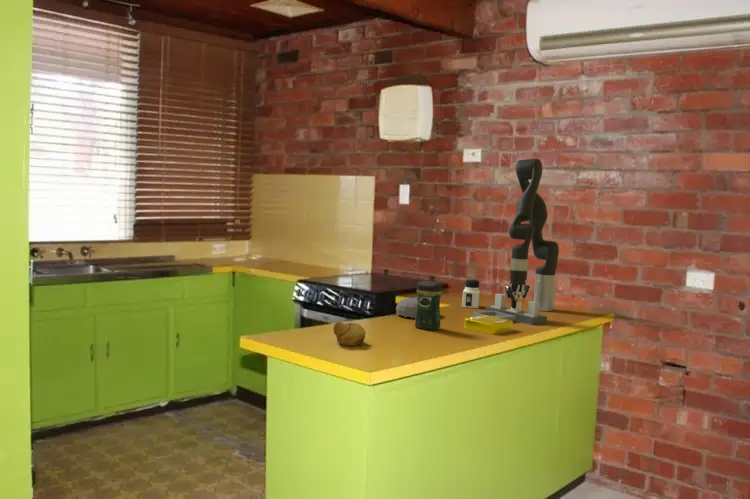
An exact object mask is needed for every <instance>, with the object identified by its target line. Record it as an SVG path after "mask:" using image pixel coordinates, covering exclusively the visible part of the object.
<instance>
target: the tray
mask: <svg viewBox="0 0 750 499" xmlns="http://www.w3.org/2000/svg"><path fill="white" fill-rule="evenodd" d="M481 315H487V316H492V317H497V318H503V319H508V320H512V321H513V323H516V322H517V321H516V316H514V315H510V314H506V313H501V312H497V311H486V310H485V311H475V312H472V316H471V317H475V316H481Z"/></svg>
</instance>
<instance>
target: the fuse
mask: <svg viewBox="0 0 750 499" xmlns="http://www.w3.org/2000/svg"><path fill="white" fill-rule="evenodd" d="M526 312H527V314H530V315H534V317H538V315H539V314H540V313H539V312H540V310H539V302H535V301H533V300H529V301H528V302H527V311H526Z"/></svg>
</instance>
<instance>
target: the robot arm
mask: <svg viewBox="0 0 750 499" xmlns="http://www.w3.org/2000/svg"><path fill="white" fill-rule="evenodd" d="M515 173H516V177H517V180H518V183H519V184H518V185H519V187H520V191H521V193H522V194H521V195H520V197H519V198H518V200H517V204H516V211H515V215H514V218H513V220H512V223H511V224H510V226H509V230H508V236H509V237H510V238H511V239H513V240H522V241H523V243H521V244H515V245H513V246H512V248H511V257H510V258H511V260H510V267H509V280H510V282H509V285H505V286H504V288H505V292H506V297H507V299H509V300H510V308H516V299H517V298H522V300H523V299H526V297H527V295H528V292H529V290H530V287H531V286H530V285H528V284H526V281H527V280H528V267H529V266H528V265H529V260H528V259H529V249H530V244H532V251H533V255H534V257H535V258H536V259H538V260H543V261H544V260H545V263H544V264H543V265H541V266H537V267H536V268H535V276H534V288H533V289H534V290H533V300H532V301H535V302H539V312H540V311H541V312H551V311H554V309H555V299H556V298H555V297H556V290H555V280H556V271H557V268H558V260H559V253H560V248H559V244H558V242H556V241H553V240H544V238H543V228H544V226H545V224H546V222H547V219H548V216H549V215H548V209H547V206H546V201H545V200H544V199H543V198H542V196H541V195H540V194H539V193H538V192H537V191H538V189H539V186H540V182H541V180H542V174H543V164H542V161H541V159H539V158H527V159H519V160H517V161H516V164H515ZM526 222H528V223H526Z"/></svg>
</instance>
